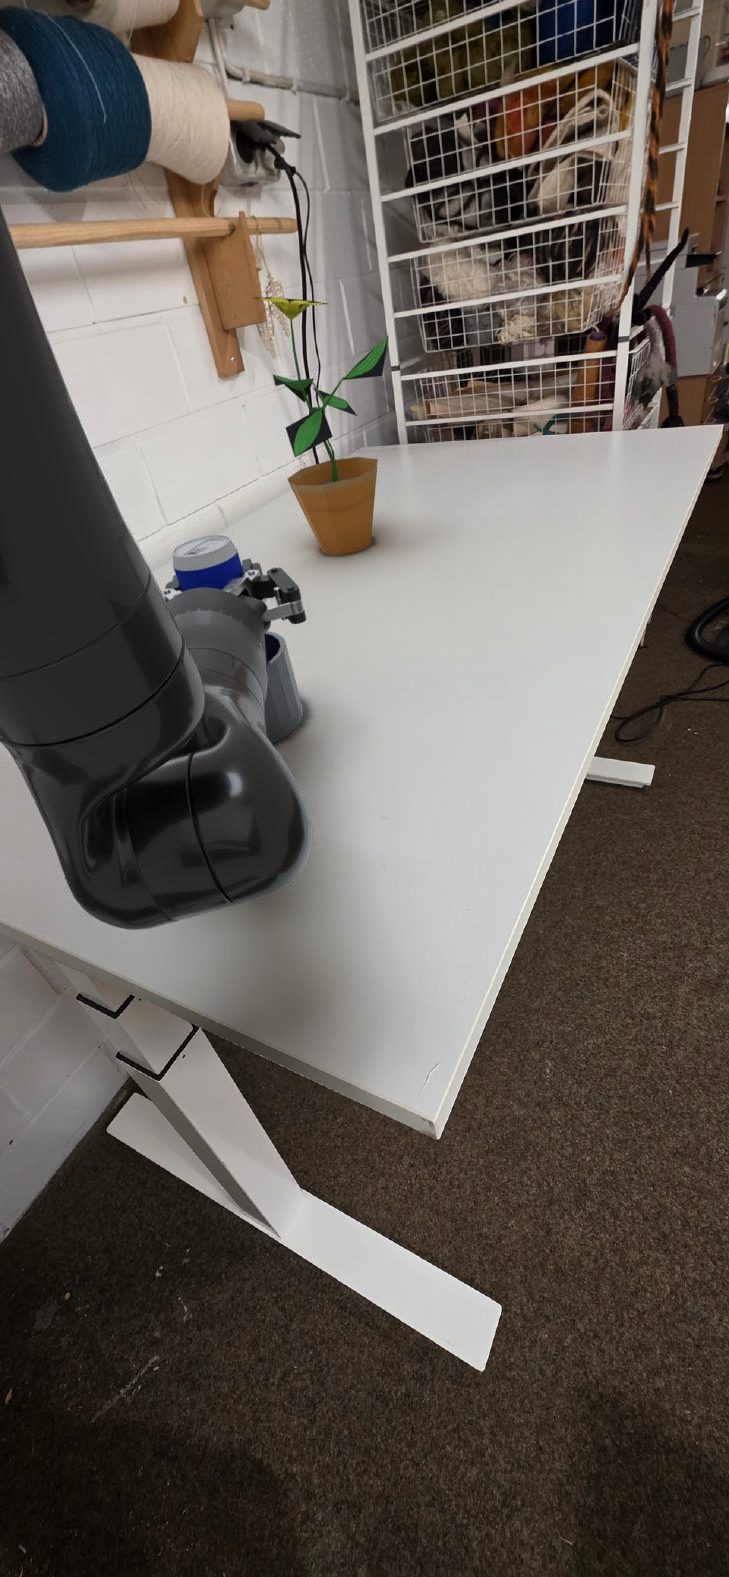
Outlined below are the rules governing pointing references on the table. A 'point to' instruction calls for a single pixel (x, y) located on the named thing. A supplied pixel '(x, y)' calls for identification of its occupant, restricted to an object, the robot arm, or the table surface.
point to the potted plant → (331, 457)
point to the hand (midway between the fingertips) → (215, 578)
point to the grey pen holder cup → (280, 691)
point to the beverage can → (207, 563)
